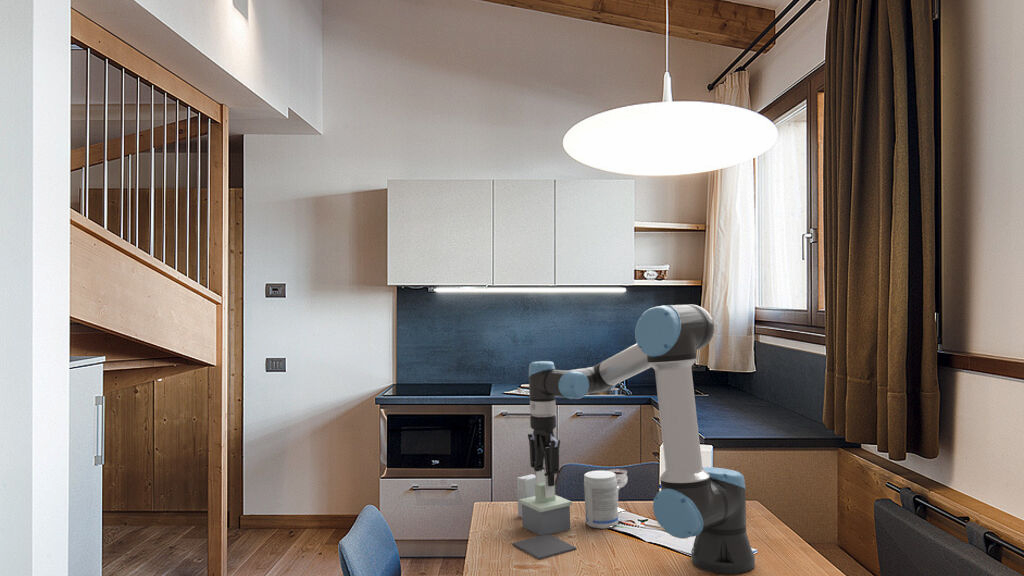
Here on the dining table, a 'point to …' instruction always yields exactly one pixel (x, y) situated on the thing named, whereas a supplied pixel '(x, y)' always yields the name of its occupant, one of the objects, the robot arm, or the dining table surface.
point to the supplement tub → (601, 499)
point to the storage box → (546, 520)
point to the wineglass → (620, 481)
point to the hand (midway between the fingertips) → (545, 494)
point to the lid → (544, 500)
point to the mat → (544, 546)
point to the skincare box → (525, 489)
